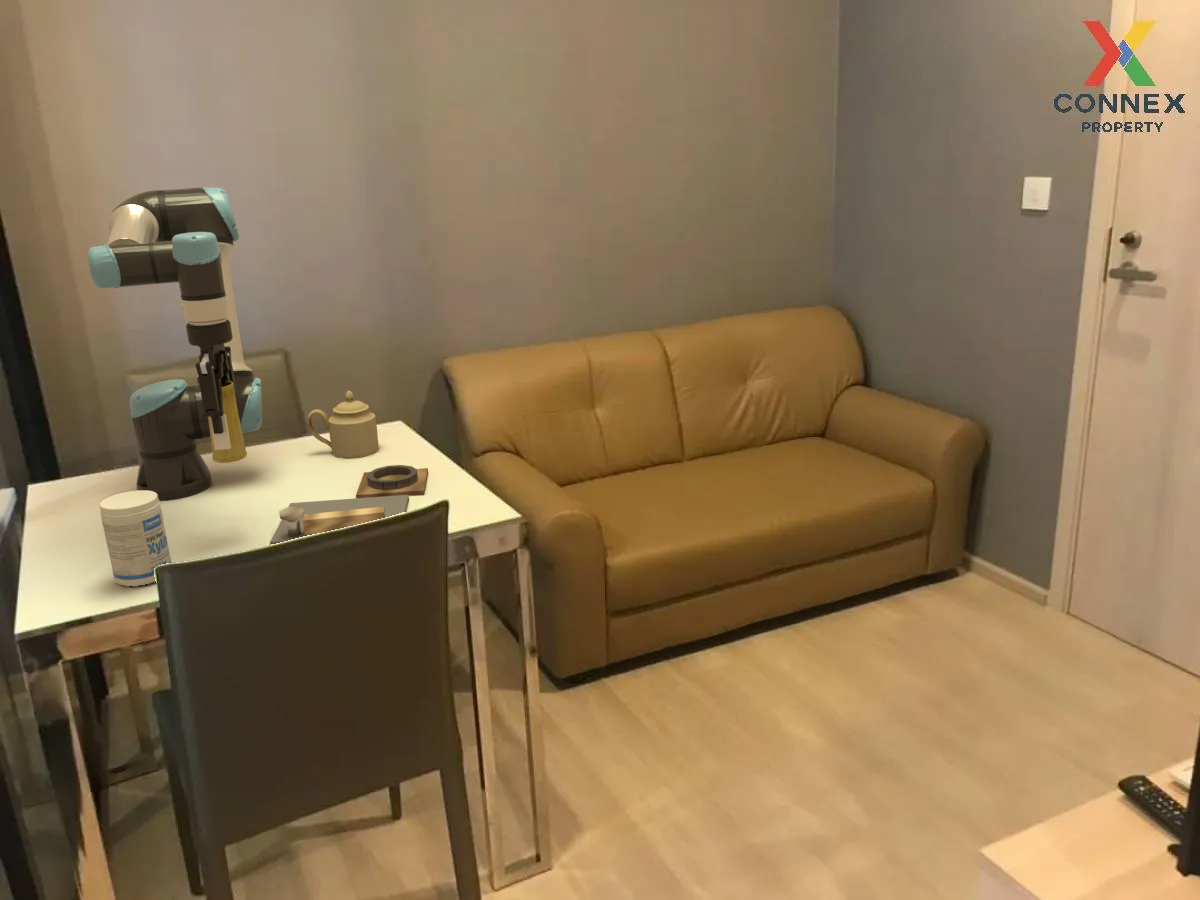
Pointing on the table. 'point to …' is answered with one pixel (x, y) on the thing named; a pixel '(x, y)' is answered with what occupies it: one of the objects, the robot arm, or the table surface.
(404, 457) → the table surface
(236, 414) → the vase
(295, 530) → the pivot post
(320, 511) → the board
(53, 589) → the table surface
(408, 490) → the socket block
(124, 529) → the supplement tub
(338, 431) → the sugar bowl
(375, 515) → the folding leg
